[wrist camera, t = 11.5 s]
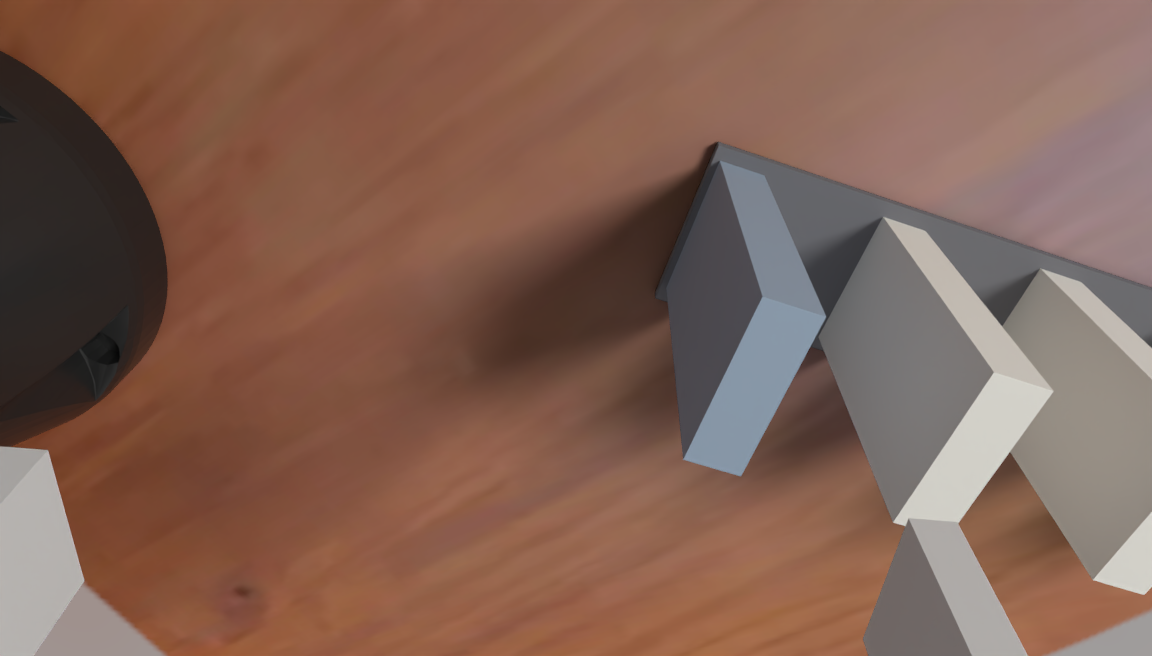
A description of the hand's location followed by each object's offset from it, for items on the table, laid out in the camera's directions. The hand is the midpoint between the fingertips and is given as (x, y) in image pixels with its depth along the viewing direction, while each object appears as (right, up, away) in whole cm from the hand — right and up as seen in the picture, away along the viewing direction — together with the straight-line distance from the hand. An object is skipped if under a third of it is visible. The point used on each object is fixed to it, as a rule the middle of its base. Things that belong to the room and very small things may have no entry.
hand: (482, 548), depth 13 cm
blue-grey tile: (+6, +7, +16) cm, 19 cm away
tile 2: (+12, +5, +17) cm, 21 cm away
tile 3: (+18, +3, +18) cm, 25 cm away
